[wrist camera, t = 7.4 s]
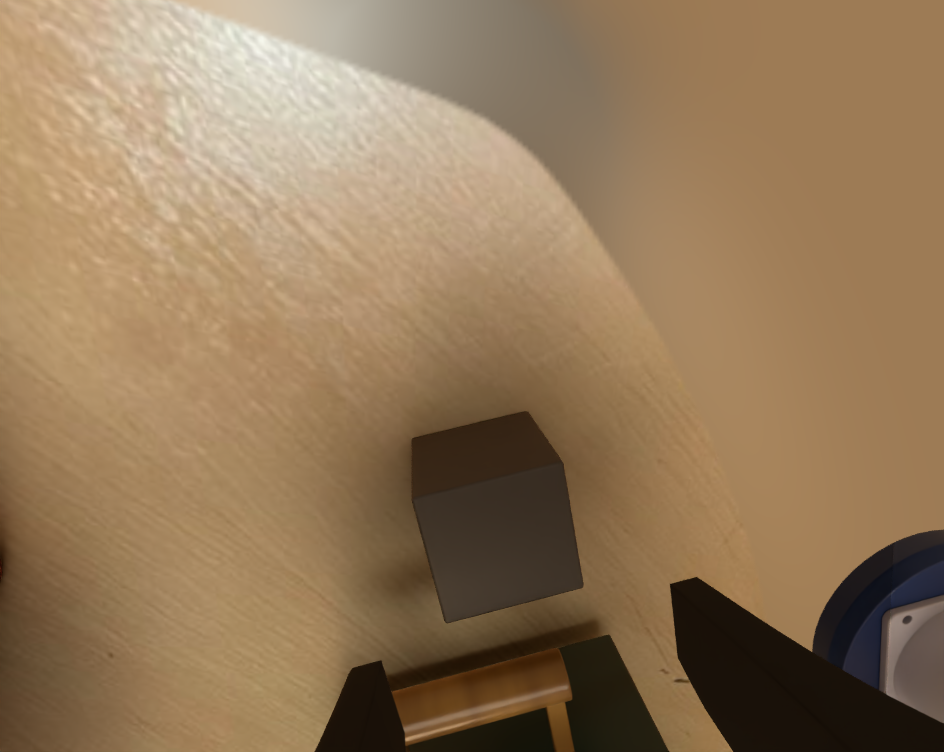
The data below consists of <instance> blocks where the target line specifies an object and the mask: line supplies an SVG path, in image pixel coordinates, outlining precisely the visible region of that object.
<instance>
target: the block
mask: <svg viewBox="0 0 944 752" xmlns="http://www.w3.org/2000/svg"><path fill="white" fill-rule="evenodd" d="M412 503H413V507H414V511H415V514H416V518H417V522H418V525H419V529H420V533H421V536H422V540H423V544H424V547H425V551H426V555H427V558H428V562H429V566H430V569H431V573H432V577H433V580H434V584H435V588H436V592H437V595H438V599H439V603H440V606H441V610H442V614H443V617H444V621H445V622H446V623H450V622H454V621H458V620H462V619H466V618H470V617H473V616H477V615H481V614H485V613H489V612H492V611H496V610H500V609H504V608H508V607H512V606H515V605H519V604H523V603H527V602H531V601H534V600H538V599H542V598H546V597H550V596H553V595H557V594H561V593H565V592H569V591H573V590H576V589H580V588H583V578H582V572H581V566H580V560H579V554H578V548H577V542H576V536H575V530H574V524H573V518H572V512H571V506H570V500H569V494H568V488H567V482H566V476H565V470H564V464H563V462H562V460H561V459H560V457H559V456H558V454H557V453H556V452H555V450H554V449H553V447H552V446H551V444H550V443H549V441H548V440H547V439H546V437H545V436H544V434H543V433H542V431H541V430H540V428H539V427H538V426H537V424H536V423H535V421H534V420H533V418H532V417H531V415H530V414H529V413H528V412H522V413H518V414H514V415H510V416H505V417H501V418H497V419H493V420H489V421H484V422H480V423H476V424H472V425H468V426H463V427H459V428H455V429H451V430H447V431H442V432H438V433H434V434H430V435H426V436H421V437H417V438H413V439H412Z"/></svg>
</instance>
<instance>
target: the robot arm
mask: <svg viewBox="0 0 944 752" xmlns="http://www.w3.org/2000/svg"><path fill="white" fill-rule="evenodd" d="M670 589H671V598H672V608H673V617H674V626H675V636H676V645H677V655H678V659H679V661H680V663H681V665H682V667H683V669H684V671H685V672H686V674H687V676H688V678H689V680H690V682H691V684H692V686H693V688H694V689H695V691H696V693H697V695H698V697H699V699H700V700H701V702H702V704H703V706H704V708H705V709H706V711H707V712H708V714H709V716H710V717H711V719H712V720H713V722H714V723H715V725H716V726H717V728H718V729H719V731H720V732H721V734H722V735H723V737H724V738H725V740H726V741H727V743H728V744H729V746H730V747H731V749H732V750H733V752H944V595H940V596H937V597H933V598H930V599H926V600H922V601H919V602H915V603H911V604H908V605H904V606H901V607H897V608H893V609H890V610H888V611H887V612H885V613H884V615H883V617H882V632H881V655H880V677H879V690H877V689H875V688H874V687H872V686H870V685H868V684H866V683H864V682H863V681H861V680H859V679H857V678H856V677H854V676H852V675H850V674H849V673H847V672H845V671H843V670H842V669H840V668H838V667H836V666H835V665H833V664H831V663H829V662H828V661H826V660H824V659H823V658H821V657H819V656H818V655H816V654H814V653H813V652H811V651H809V650H808V649H806V648H804V647H803V646H801V645H800V644H798V643H797V642H795V641H793V640H792V639H790V638H789V637H787V636H785V635H784V634H782V633H781V632H779V631H777V630H776V629H774V628H773V627H771V626H770V625H768V624H767V623H765V622H763V621H762V620H760V619H759V618H757V617H756V616H754V615H753V614H751V613H750V612H748V611H747V610H745V609H744V608H742V607H741V606H739V605H738V604H736V603H735V602H733V601H732V600H730V599H729V598H727V597H726V596H724V595H723V594H722V593H720V592H719V591H717V590H716V589H714V588H713V587H711V586H710V585H708V584H707V583H705V582H704V581H702V580H700V579H699V578H697V577H695V578H691V579H687V580H683V581H680V582H676V583H672V584H670ZM315 752H406V746H405V732H404V728H403V725H402V722H401V719H400V716H399V713H398V710H397V707H396V704H395V701H394V698H393V695H392V692H391V689H390V686H389V683H388V680H387V676H386V673H385V670H384V667H383V664H382V661H377V662H373V663H370V664H366V665H362V666H358V667H355V668H352V670H351V671H350V673H349V674H348V677H347V679H346V682H345V684H344V687H343V689H342V691H341V694H340V696H339V699H338V701H337V703H336V706H335V708H334V710H333V713H332V715H331V717H330V719H329V722H328V724H327V726H326V728H325V731H324V733H323V735H322V737H321V740H320V742H319V744H318V746H317V748H316V750H315Z"/></svg>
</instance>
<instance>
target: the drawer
mask: <svg viewBox="0 0 944 752" xmlns="http://www.w3.org/2000/svg"><path fill="white" fill-rule="evenodd" d="M392 695H393V698H394V701H395V704H396V707H397V710H398V713H399V716H400V719H401V722H402V725H403V728H404V732H405V746H406V752H669V751H668V749H667V747H666V745H665V743H664V741H663V739H662V737H661V735H660V733H659V731H658V729H657V727H656V725H655V723H654V721H653V719H652V717H651V715H650V713H649V711H648V709H647V707H646V705H645V703H644V701H643V699H642V697H641V695H640V693H639V691H638V690H637V688H636V686H635V684H634V682H633V680H632V678H631V676H630V674H629V672H628V670H627V668H626V666H625V664H624V662H623V660H622V658H621V656H620V654H619V652H618V650H617V648H616V646H615V644H614V642H613V640H612V638H611V636H610V635H609V634H608V635H604V636H601V637H597V638H593V639H590V640H586V641H582V642H578V643H575V644H571V645H567V646H564V647H560V648H553V649H549V650H545V651H542V652H538V653H534V654H530V655H527V656H523V657H519V658H516V659H512V660H508V661H504V662H501V663H497V664H493V665H489V666H486V667H482V668H478V669H475V670H471V671H467V672H463V673H460V674H456V675H452V676H449V677H445V678H441V679H437V680H434V681H430V682H426V683H423V684H419V685H415V686H411V687H408V688H404V689H400V690H396V691H393V692H392Z"/></svg>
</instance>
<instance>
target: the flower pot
mask: <svg viewBox="0 0 944 752" xmlns="http://www.w3.org/2000/svg"><path fill="white" fill-rule="evenodd" d="M1 576H2V564H1V559H0V581H1Z"/></svg>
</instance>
